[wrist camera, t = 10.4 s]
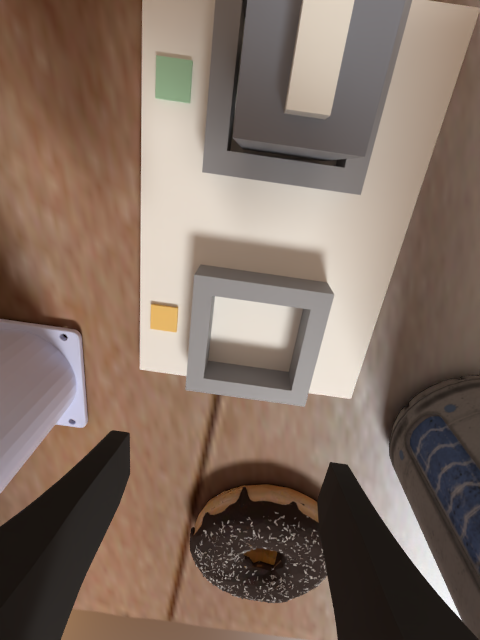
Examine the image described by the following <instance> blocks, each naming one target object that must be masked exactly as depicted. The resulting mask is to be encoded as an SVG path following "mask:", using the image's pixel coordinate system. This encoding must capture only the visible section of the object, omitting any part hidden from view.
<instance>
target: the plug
mask: <svg viewBox="0 0 480 640" xmlns="http://www.w3.org/2000/svg"><path fill="white" fill-rule="evenodd" d="M404 4H405V0H247V8H246V17H245V26H244V36H243V45H242V54H241V64H240V73H239V82H238V92H237V101H236V110H235V119H234V129H233V139H234V140H235V141H236V142H237V143H238V144H239V146H240V147H241V148H242V149H244V150H251V151H258V152H265V153H271V154H278V155H285V156H292V157H299V158H306V159H313V160H320V161H330V160H340V159H349V158H359V157H365V155H366V151H367V147H368V143H369V140H370V136H371V132H372V128H373V124H374V120H375V116H376V113H377V109H378V105H379V101H380V97H381V93H382V89H383V85H384V82H385V78H386V74H387V70H388V66H389V62H390V58H391V55H392V51H393V47H394V43H395V39H396V35H397V31H398V27H399V24H400V20H401V16H402V12H403V8H404Z"/></svg>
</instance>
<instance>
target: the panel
mask: <svg viewBox="0 0 480 640" xmlns="http://www.w3.org/2000/svg"><path fill="white" fill-rule="evenodd" d="M246 8H247V0H142V110H141V259H140V370H147V371H154V372H162V373H169V374H176V375H183V376H187V377H186V390H189V391H196V392H203V393H210V394H218V395H225V396H232V397H239V398H246V399H253V400H261V401H268V402H275V403H282V404H289V405H297V406H304V407H305V404H306V400H307V396H308V393H312V394H319V395H326V396H334V397H341V398H348V399H351V397H352V394H353V391H354V388H355V385H356V382H357V379H358V376H359V373H360V370H361V367H362V364H363V361H364V358H365V355H366V352H367V349H368V346H369V343H370V340H371V337H372V334H373V331H374V328H375V325H376V322H377V319H378V316H379V313H380V310H381V307H382V304H383V301H384V298H385V295H386V292H387V289H388V286H389V283H390V280H391V277H392V274H393V271H394V268H395V265H396V262H397V259H398V256H399V253H400V250H401V247H402V243H403V240H404V237H405V234H406V231H407V228H408V225H409V222H410V219H411V216H412V213H413V210H414V207H415V204H416V201H417V198H418V195H419V192H420V189H421V186H422V183H423V180H424V177H425V174H426V171H427V168H428V165H429V162H430V159H431V156H432V153H433V150H434V147H435V144H436V141H437V138H438V135H439V132H440V129H441V126H442V123H443V120H444V117H445V114H446V111H447V108H448V105H449V102H450V99H451V96H452V93H453V90H454V87H455V84H456V81H457V78H458V75H459V72H460V69H461V66H462V63H463V60H464V57H465V54H466V51H467V48H468V45H469V42H470V39H471V36H472V33H473V30H474V27H475V24H476V21H477V18H478V15H479V12H480V8H477V7H471V6H464V5H457V4H450V3H444V2H437V1H430V0H405V4H404V8H403V12H402V16H401V20H400V24H399V27H398V31H397V35H396V39H395V43H394V47H393V51H392V55H391V58H390V62H389V66H388V70H387V74H386V78H385V82H384V85H383V89H382V93H381V97H380V101H379V105H378V109H377V113H376V116H375V120H374V124H373V128H372V132H371V136H370V140H369V143H368V147H367V151H366V155H365V157H359V158H349V159H340V160H330V161H320V160H313V159H306V158H299V157H292V156H285V155H278V154H271V153H265V152H258V151H251V150H244V149H242V148H241V147H240V146H239V144H238V143H237V142H236V141H235V140H234V139H233V129H234V119H235V110H236V101H237V92H238V82H239V73H240V64H241V54H242V45H243V36H244V26H245V17H246Z"/></svg>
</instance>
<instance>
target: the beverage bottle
mask: <svg viewBox="0 0 480 640" xmlns="http://www.w3.org/2000/svg"><path fill="white" fill-rule="evenodd" d="M389 456H390V459H391V462H392V465H393V467H394V470H395V472H396V474H397V476H398V479H399V481H400V483H401V485H402V488H403V490H404V492H405V494H406V496H407V499H408V501H409V503H410V505H411V508H412V510H413V512H414V514H415V517H416V519H417V521H418V523H419V525H420V528H421V530H422V532H423V534H424V537H425V539H426V541H427V543H428V546H429V548H430V550H431V552H432V554H433V557H434V559H435V561H436V563H437V566H438V568H439V570H440V572H441V574H442V577H443V579H444V581H445V583H446V586H447V588H448V590H449V592H450V595H451V597H452V599H453V601H454V603H455V606H456V608H457V610H458V612H459V615H460V617H461V619H462V621H463V623H464V624H465V625H466V626H467V627H468V628H469V629H470V630H471V631H472V633H473V634H474V635H475V636H476V637H477V638H478V639H479V640H480V376H464V377H461V380H458V379H455V378H453V379H450V380H446V381H443V382H440V383H438V384H436V385H434V386H431V387H429V388H427V389H426V390H424V391H423V392H421V393H419V394H418V395H416V396H415V397H414V398H413V399H412V400H411V401H410V402H409V407H406V406H405V407H404V408H403V409H402V411H401V412H400V413H399V415H398V417H397V419H396V421H395V423H394V425H393V429H392V433H391V438H390V443H389Z"/></svg>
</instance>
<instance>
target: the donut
mask: <svg viewBox="0 0 480 640" xmlns="http://www.w3.org/2000/svg"><path fill="white" fill-rule="evenodd" d="M190 551H191V554H192V557H193V560H194V561H195V564H196V566H198V568H199V570H200V571H201V572H202V574H203V577H206V579H207V581H209V582H211V583H212V584H213V585H215V586H217V587H218V588H219V589H221V590H222V591H226V592H228V593H230V594H232V596H237V597H239V598H240V597H241V598H242V599H243V598H245V599H248V600H254V601H255V600H256V601H261V602H262V601H264V602H268V603H282V602H287V601H288V600H291V599H293V598H295V597H299V596H300V595H303V594H306V593H308V591H310V590H312V589H313V588H316V587H318V585H320V583H321V581H323V580H324V579H325V578H326V576H327V571H326V565H325V560H324V555H323V549H322V544H321V538H320V532H319V521H318V507H317V502H316V501H315V500H313V499H311V498H309V497H308V496H306V495H304V494H302V493H300V492H298V491H295V490H293V489H290V488H286V487H280V486H274V485H268V484H265V485H244V486H240V487H237V488H233V489H230V490H227V491H224V492H222V493H221V494H219V495H217V496H216V497H214V498H212V499H211V500H209V501H208V502H207V504H206V505H205V507H204V508H203V510H202V511H201V512H200V514H199V515H198V518H197V521H196V524H195V528H194V527H193V528H192V529H191V533H190Z"/></svg>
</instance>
